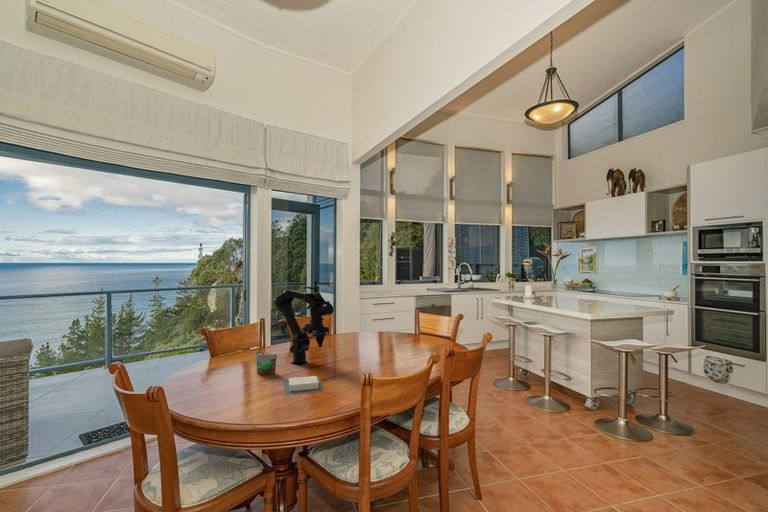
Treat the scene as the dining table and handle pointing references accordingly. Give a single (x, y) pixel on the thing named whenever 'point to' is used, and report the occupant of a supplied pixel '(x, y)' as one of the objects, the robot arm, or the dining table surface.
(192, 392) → the dining table surface
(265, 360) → the food container
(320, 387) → the mat
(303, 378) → the tile
